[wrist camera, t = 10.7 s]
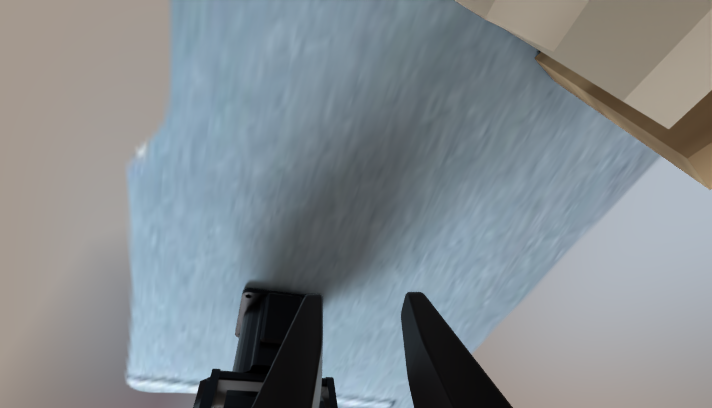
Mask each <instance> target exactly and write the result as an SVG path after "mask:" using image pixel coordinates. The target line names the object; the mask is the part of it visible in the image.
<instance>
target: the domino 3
mask: <svg viewBox="0 0 712 408" xmlns="http://www.w3.org/2000/svg"><path fill="white" fill-rule="evenodd" d="M535 59H536V61H537V62H538V63H539V64H540V65H541V66H542V67H543V68H544V70H545V71H546V72H547V73H548V74H549V75H550V76H551V78H552V79H553V80H554V81H555V82H556V83H558V84H559V85H561V86H562V87H564V88H565V89H566V90H568V91H569V92H571V93H572V94H574V95H575V96H576V97H578V98H579V99H581V100H582V101H584V102H585V103H586V104H588V105H589V106H591V107H592V108H594V109H595V110H596V111H598V112H599V113H601V114H602V115H604V116H605V117H606V118H608V119H609V120H611V121H612V122H614V123H615V124H616V125H618V126H619V127H621V128H622V129H624V130H625V131H626V132H628V133H629V134H631V135H632V136H634V137H635V138H636V139H638V140H639V141H641V142H642V143H644V144H645V145H646V146H648V147H649V148H651V149H652V150H654V151H655V152H656V153H658V154H659V155H661V156H662V157H664V158H665V159H667V160H668V161H669V162H671V163H672V164H674V165H675V166H676V167H678V168H679V169H681V170H682V171H684V172H685V173H687V174H688V175H689V176H691V177H692V178H694V179H695V180H697V181H698V182H700V183H701V184H702V185H704V186H705V187H707V188H708V189H710V190H711V189H712V90H711V91H710V92H709V93H708V94H707V95H706V96H705V97H704V98H702V99H701V100H700V101H699V102H698V103H697V104H696V105H695V106H694V107H693V108H692V109H690V110H689V111H688V112H687V113H686V114H685V115H684V116H683V117H682V118H681V119H680V120H679V121H677V122H676V123H675V124H674V125H673V126H672V127H671V128H670V129H667V128H666V127H664V126H662V125H661V124H659V123H657V122H656V121H654V120H652V119H651V118H649V117H648V116H646V115H644V114H643V113H641V112H639V111H638V110H636V109H634V108H633V107H631V106H629V105H628V104H626V103H625V102H623V101H621V100H620V99H618V98H616V97H615V96H613V95H611V94H610V93H608V92H607V91H605V90H603V89H602V88H600V87H598V86H597V85H595V84H593V83H592V82H590V81H589V80H587V79H585V78H584V77H582V76H580V75H579V74H577V73H575V72H574V71H572V70H570V69H569V68H567V67H566V66H564V65H562V64H561V63H559V62H557V61H556V60H554V59H552V58H551V57H549V56H548V55H546V54H544V53H543V52H540V53H539V54H538V55H537V56H536V57H535Z"/></svg>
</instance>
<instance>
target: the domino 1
mask: <svg viewBox="0 0 712 408" xmlns="http://www.w3.org/2000/svg"><path fill="white" fill-rule="evenodd" d="M454 1H456V2H458V3H459V4H461V5H462V6H464V7H466V8H467V9H469V10H471V11H472V12H474V13H475V14H477V15H479V16H480V17H482V18H483V19H485V20H487V21H489V22H491V23H494V24H496V25H498V26H500V27H502V28H504V29H506V30H508V31H510V32H513V33H515V34H517V35H519V36H521V37H523V38H525V39H527V40H529V41H531V42H534V43H536V44H538V45H540V46H542V47H544V48H546V49H548V50H550V51H553V52H554V51H555V49H556V48H557V47H558V45H559V44H560V42H561V41H562V39H563V38H564V36H565V35H566V34H567V32H568V31H569V29H570V28H571V26H572V25H573V23H574V22H575V20H576V19H577V18H578V16H579V15H580V13H581V12H582V10H583V9H584V7H585V6H586V5H587V3H588V2H589V0H454Z"/></svg>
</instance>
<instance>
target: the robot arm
mask: <svg viewBox="0 0 712 408" xmlns="http://www.w3.org/2000/svg"><path fill="white" fill-rule="evenodd" d="M401 322H402V331H403V340H404V349H405V358H406V367H407V375H408V381H409V386H410V391H411V396H412V400H413V405H414V408H513V407H512V406H511V405H510V403H509V402H508V401H507V400H506V398H505V397H504V396H503V395H502V393H501V392H500V391H499V389H498V388H497V387H496V386H495V384H494V383H493V382H492V380H491V379H490V378H489V377H488V375H487V374H486V373H485V372H484V370H483V369H482V368H481V366H480V365H479V364H478V362H477V361H476V360H475V359H474V357H473V356H472V355H471V353H470V352H469V351H468V350H467V348H466V347H465V346H464V345H463V343H462V342H461V341H460V339H459V338H458V337H457V336H456V334H455V333H454V332H453V330H452V329H451V328H450V327H449V325H448V324H447V323H446V321H445V320H444V319H443V318H442V316H441V315H440V314H439V313H438V311H437V310H436V309H435V307H434V306H433V305H432V304H431V302H430V301H429V300H428V298H427V297H426V296H425V295H424V294H423V293H422V292H408V293H407V294H406V295H405V299H404V303H403V307H402V311H401ZM235 335H236V336H237V337H239V341H238V346H237V351H236V356H235V361H234V366H233V371H220V370H221V369H212V373H211V376H210V377H208V378H207V379H204V380H202V381H200V385H199V388H198V392H197V396H196V400H195V403H194V407H193V408H338V406H337V400H336V393H335V386H334V379H333V377H326V378H322V351H323V296H322V294H307V295H299V294H291V293H283V292H276V291H268V290H260V289H252V288H247V289H244V290H243V293H242V299H241V304H240V310H239V315H238V321H237V326H236V332H235Z"/></svg>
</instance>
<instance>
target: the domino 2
mask: <svg viewBox="0 0 712 408" xmlns="http://www.w3.org/2000/svg"><path fill="white" fill-rule="evenodd" d="M503 29H504V28H503ZM505 30H506V29H505ZM507 31H508V30H507ZM508 32H510V31H508ZM510 33H512V34H513V35H515V36H516V37H518V38H520V39H521V40H523V41H525V42H526V43H528V44H530V45H531V46H533V47H534V48H536V49H538V50H539V51H541V52H543V53H544V54H546V55H548V56H549V57H551V58H552V59H554V60H556V61H557V62H559V63H561V64H562V65H564V66H566V67H567V68H569V69H570V70H572V71H574V72H575V73H577V74H579V75H580V76H582V77H584V78H585V79H587V80H589V81H590V82H592V83H593V84H595V85H597V86H598V87H600V88H602V89H603V90H605V91H607V92H608V93H610V94H611V95H613V96H615V97H616V98H618V99H620V100H621V101H623V102H625V103H626V104H628V105H629V106H631V107H633V108H634V109H636V110H638V111H639V112H641V113H643V114H644V115H646V116H648V117H649V118H651V119H652V120H654V121H656V122H657V123H659V124H661V125H662V126H664V127H666V128H667V129H670V128H671V127H672V126H673V125H674V124H675V123H676V122H677V121H679V120H680V119H681V118H682V117H683V116H684V115H685V114H686V113H687V112H688V111H689V110H690V109H692V108H693V107H694V106H695V105H696V104H697V103H698V102H699V101H700V100H701V99H702V98H704V97H705V96H706V95H707V94H708V93H709V92H710V91H711V90H712V0H589V2H588V3H587V5H586V6H585V7H584V9H583V10H582V12H581V13H580V15H579V16H578V18H577V19H576V20H575V22H574V23H573V25H572V26H571V28H570V29H569V31H568V32H567V34H566V35H565V36H564V38H563V39H562V41H561V42H560V44H559V45H558V47H557V48H556V49H555V51H554V52H553V51H550V50H548V49H546V48H544V47H542V46H540V45H538V44H536V43H534V42H531V41H529V40H527V39H525V38H523V37H521V36H519V35H517V34H515V33H513V32H510Z"/></svg>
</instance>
